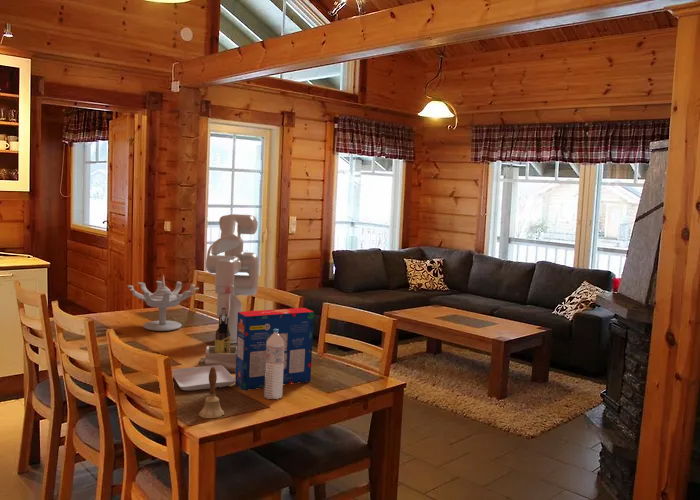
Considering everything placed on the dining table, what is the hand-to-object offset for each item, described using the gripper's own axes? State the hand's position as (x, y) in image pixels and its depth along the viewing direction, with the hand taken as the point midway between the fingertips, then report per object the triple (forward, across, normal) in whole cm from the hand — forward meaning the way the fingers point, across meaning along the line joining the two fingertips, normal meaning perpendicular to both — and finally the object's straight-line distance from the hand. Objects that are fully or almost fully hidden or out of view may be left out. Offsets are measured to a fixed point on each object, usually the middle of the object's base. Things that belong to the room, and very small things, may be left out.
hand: (223, 330), depth 262 cm
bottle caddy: (+15, +1, 0) cm, 15 cm away
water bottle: (+15, +38, +19) cm, 45 cm away
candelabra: (+17, -65, -31) cm, 74 cm away
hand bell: (+14, +54, -2) cm, 56 cm away
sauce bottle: (+14, 0, 0) cm, 15 cm away
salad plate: (+15, +21, -7) cm, 27 cm away
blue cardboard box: (+15, +22, +20) cm, 33 cm away
